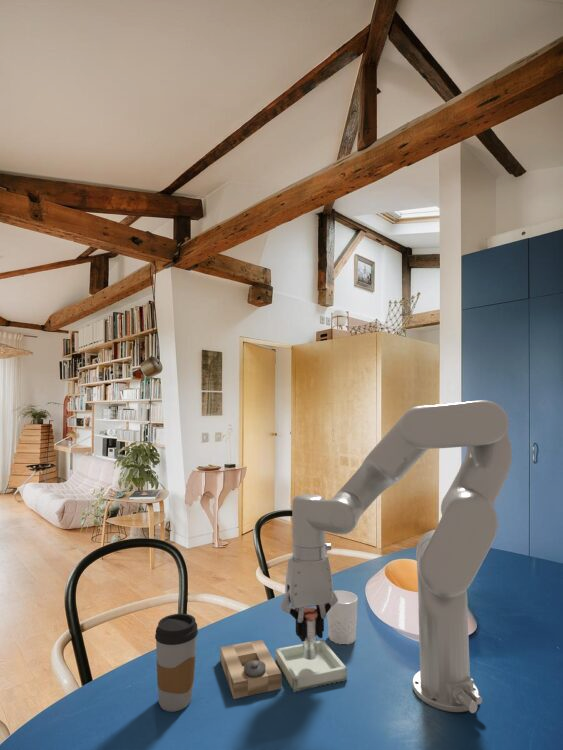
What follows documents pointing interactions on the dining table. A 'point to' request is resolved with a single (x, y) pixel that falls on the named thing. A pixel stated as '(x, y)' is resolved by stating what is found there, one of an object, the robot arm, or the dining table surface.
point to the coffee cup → (175, 660)
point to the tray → (310, 667)
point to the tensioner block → (249, 668)
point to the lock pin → (310, 633)
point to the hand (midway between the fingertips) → (309, 635)
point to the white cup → (343, 618)
